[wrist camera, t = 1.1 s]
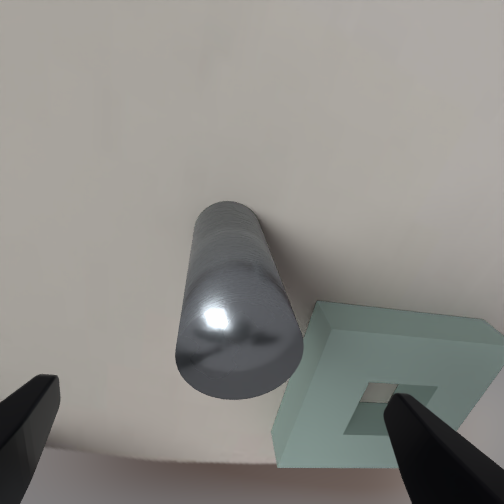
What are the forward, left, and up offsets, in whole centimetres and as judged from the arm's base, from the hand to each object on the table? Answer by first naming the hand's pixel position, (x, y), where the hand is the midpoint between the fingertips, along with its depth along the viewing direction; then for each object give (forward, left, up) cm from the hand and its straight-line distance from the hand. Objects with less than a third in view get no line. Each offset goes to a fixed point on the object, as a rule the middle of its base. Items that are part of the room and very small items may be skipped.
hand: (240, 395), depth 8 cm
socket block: (-11, -14, -12) cm, 21 cm away
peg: (0, 0, -12) cm, 12 cm away
